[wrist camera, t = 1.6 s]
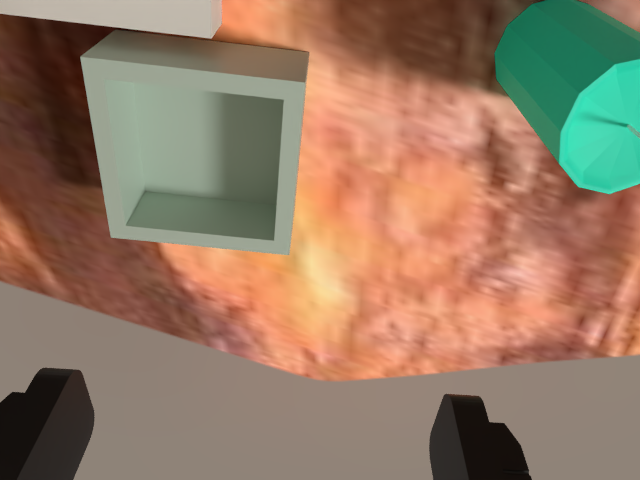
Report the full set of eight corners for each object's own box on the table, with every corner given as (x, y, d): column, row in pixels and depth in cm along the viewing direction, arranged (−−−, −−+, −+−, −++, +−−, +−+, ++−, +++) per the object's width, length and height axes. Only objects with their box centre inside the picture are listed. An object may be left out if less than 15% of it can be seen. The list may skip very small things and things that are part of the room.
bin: (115, 29, 29) (80, 56, 25) (309, 52, 29) (305, 82, 25) (136, 194, 35) (110, 237, 31) (294, 211, 36) (289, 255, 32)
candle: (484, 103, 31) (552, 213, 21) (505, -5, 27) (598, 68, 18) (584, 104, 31) (698, 214, 21) (618, -5, 27) (774, 69, 18)
